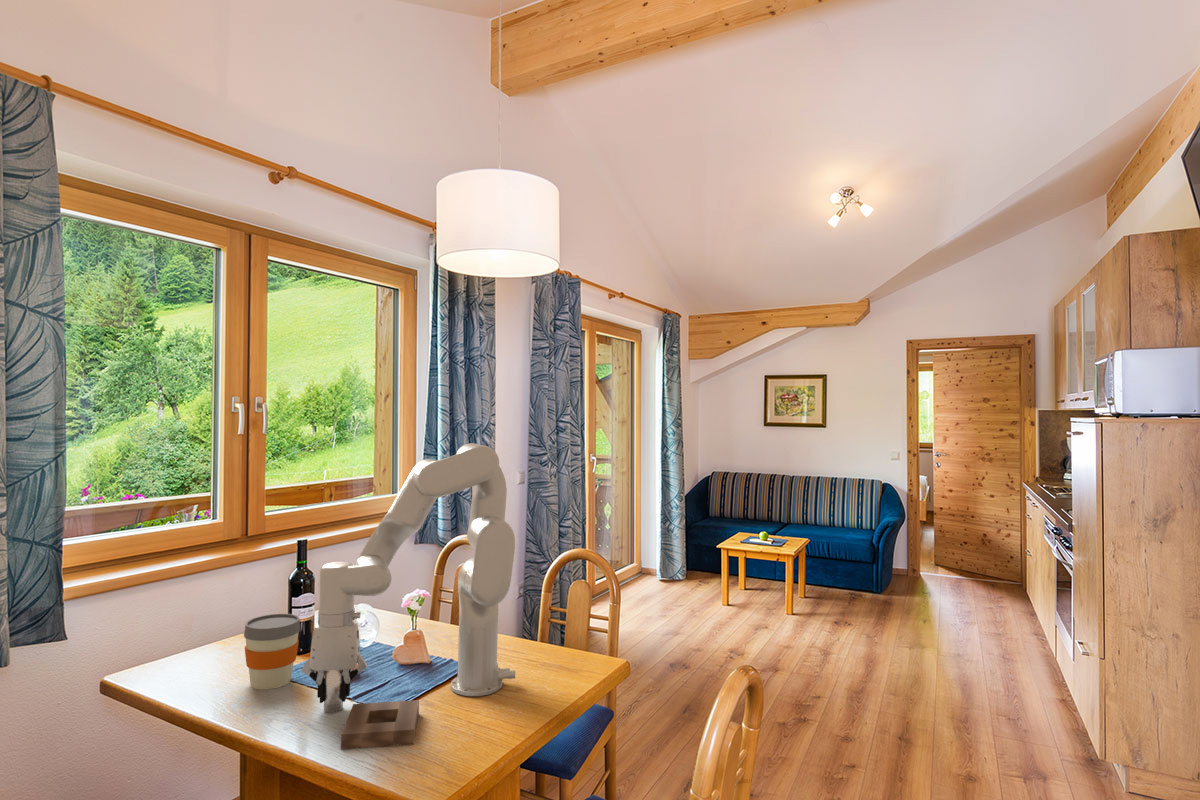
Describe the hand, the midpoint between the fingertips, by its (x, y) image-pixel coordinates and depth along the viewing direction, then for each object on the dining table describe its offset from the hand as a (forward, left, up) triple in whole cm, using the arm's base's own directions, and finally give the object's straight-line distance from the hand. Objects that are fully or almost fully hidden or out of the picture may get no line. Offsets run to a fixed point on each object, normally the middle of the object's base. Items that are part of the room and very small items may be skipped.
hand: (333, 698), depth 149 cm
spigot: (0, 0, -2) cm, 2 cm away
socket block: (-12, +12, -2) cm, 17 cm away
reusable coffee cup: (+18, -18, -2) cm, 26 cm away
